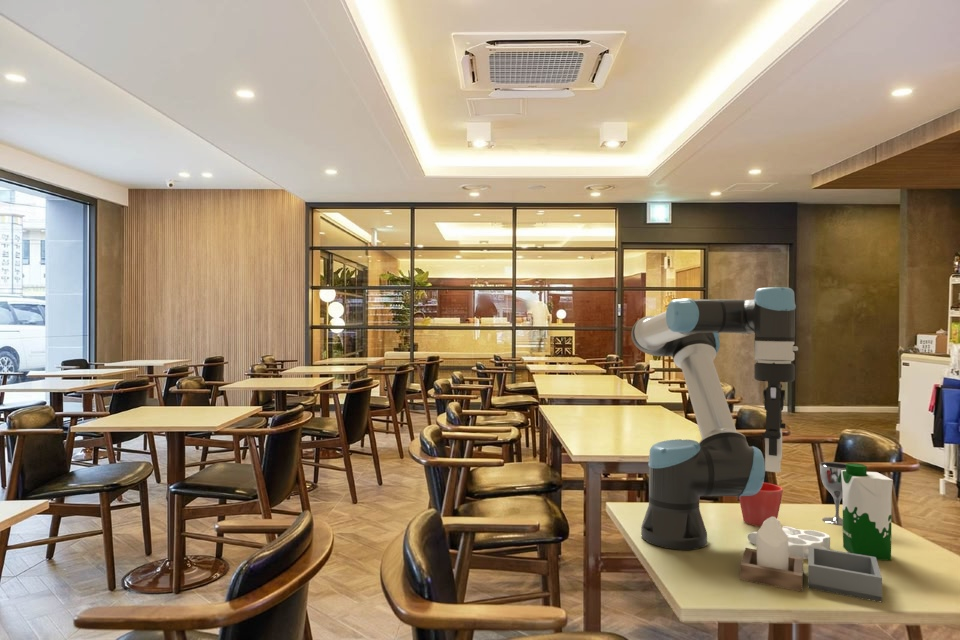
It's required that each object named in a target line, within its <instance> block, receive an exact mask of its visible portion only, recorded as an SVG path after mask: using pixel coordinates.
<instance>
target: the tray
mask: <svg viewBox="0 0 960 640" xmlns="http://www.w3.org/2000/svg"><path fill="white" fill-rule="evenodd" d="M807 560H808V562H807V563H808V564H807V566H808V567H807V568H808V569H807V571H808V572H807V575H808V577H807V581H808V583H807V588H808V589H811V590H816V591H821V592H826V593H831V594H837V595H842V596H847V597H850V598H852V597H853V598H855V599H856V598H857V599H862V598H863V599H862V600H867V599H870V600H869V601H872V600H875V601H874V602H877V601H882V602H883V578H882V573H881V570H880V567H879V563H878V560H877V559H876V557H872V556H866V555H860V554H854V553H850V552H849V551H840V550H834V549H830V550H829V549H823V548H817V547H811V546H809V552H808V559H807Z"/></svg>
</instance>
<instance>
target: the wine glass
mask: <svg viewBox="0 0 960 640" xmlns="http://www.w3.org/2000/svg"><path fill="white" fill-rule="evenodd" d="M846 464H847V463H844V462H837V461H823V462H822V461H821V462H820V463H819V470H820V479H821V482H822V485H823V486H824V488H825V489H826V490H827V491H828V492H829V493H830V494H831V496H832V498H833V501H834V506H835V515H834V516H825V517H822V518H821V520H822V521H823V522H824V523H826V524H831V525H835V526H842V527H843V517H840V504H841V500H842V499H843V489H842V477H841V470H846Z"/></svg>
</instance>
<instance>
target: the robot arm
mask: <svg viewBox="0 0 960 640" xmlns="http://www.w3.org/2000/svg"><path fill="white" fill-rule="evenodd" d="M796 308H797V305H796V301H795V291H794V290H793V289H792V288H790V287H784V286H783V287H782V286H781V287H780V286H779V287H778V286H777V287H771V286H770V287H760V288H757V289H756V290H755V292H754V298H753V299H720V298H719V299H710V298H709V299H708V298H707V299H706V298H705V299H704V298H703V299H702V298H701V299H700V298H688V297H686V298H678V299H676V298H675V299H672V300H671V301H670V302H669V303H668V305H667V308H666V310H665V311H663V312H661V313H659V314H656V315H646V316H644V317H642V318H641V317H640V319H638V320H637V321H636V322H635V323H634V324H633V326H632V329H631V340H632V343H633V344H634V346H635V347H636V348H637V349H638V350H639V351H641V352H643V353H645V354H647V355H650V356H652V357H653V356H655V357H672V360H673V364H674V365H675V366H676V367H677V368H679V369H681V371H682V375H683V378H684V381H685V385H686V389H687V391H688V395H689V399H690V402H691V406H692V409H693V413H694V415H695V416H694V417H695V420H696V424H697V427H698V431H699V433H700V436H701V440H700V441H696V440H693V439H679V438H677V439H669V440H668V439H667V440H664V441H660V442H657V443H654V444H653V445H652V446H651V447H650V449H649V455H648V456H649V457H648V464H647V465H648V507H647V509H646V512H645V515H644V517H643V521H642V524H641V526H640V527H641V530H640V531H641V532H640V534H641V535H642V536H641V538H642V539H643V540H644V541H645V540H646V541H645V542H647V543H649V544H652V545H654V546H657V547H660V548H665V549H671V550H678V551H679V550H681V551H682V550H683V551H685V550H686V551H687V550H688V551H690V550H698V549H702V548H704V547H706V546H707V545H708V532H707V529H706V526H705V522H704V520H703V516H702V514H701V509H700V497H737V498H739V497H741V496H752V495H755V494H757V493H758V492H759V491H760V489H761V487H762V485H763V482H764V481H765V476H766V472H771V473H781V470H782V468H781V466H782V464H781V463H782V462H781V461H782V460H783V429H786V423H784V422H783V419H782V416H783V415H782V413H783V412H782V411H783V410H784V406H785V404H784V403H785V402H784V401H785V400H786V390H785V389H782V388H783V385H782V383H792V382H794V381H795V380H796V379H795V377H796V370H795V369H796V365H795V364H794V363H792V362H793V361H795V357H796V355H795V352H798V351H799V347H798V346H796V345H795V340H796V339H795V337H796ZM720 333H721V334H722V333H723V334H725V333H726V334H747V335H748V334H749V335H751V334H754V341H753V353H754V354H753V356H754V357H753V359H754V361H757V362H755V363H754V367H753V368H754V370H753V371H754V375H753V376H754V377H753V378H754V379H755V380H756V381H759V382H767V387H766V388H764V389H763V394H762V395H763V399H764V401H763V404H764V410H765V431H764V432H761V438H763V439H764V440H765V441H764V443H765V445H764V446H765V447H764V450H765V452H764V454H763V452H762V451H761V449H759V448H758V447H756V446H754V445H752V446H750V445H749V443H748V441H747V437H746V436H745V435H744V434H743V433H741V432H740V431H737V429H736V425H735V422H734V419H733V416H732V414H731V410H730V407H729V404H728V402H727V399H726V394H725V393H724V389H723V387H722V384H721V381H720V377H719V374H718V372H717V369H716V366H715V363H714V360H715V359H716V358H717V354H718V352H719V349H720V347H721V346H720V345H721V339H720V337H721V336H720ZM794 345H795V346H794ZM764 455H765V456H764ZM764 483H765V482H764Z"/></svg>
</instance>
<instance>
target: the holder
mask: <svg viewBox="0 0 960 640" xmlns="http://www.w3.org/2000/svg"><path fill="white" fill-rule="evenodd" d="M788 558H789V560H788V562H789V563H788V571H786V570H781V569H775V568H770V567H764V566H759V565H757V548H755V549H754V548H751V547H745V549H744V552H743V555H742V558H741V561H740V571H739V573H740V574H739V577H740V578H739V579H740V580H741V581H746V582H749V583H750V582H751V583H756V584H760V585H764V586H771V587H776V588H781V589H786V590H791V591H796V592H802V593H803V585H804V584H803V582H804V581H803V580H804V559H803V558H802V557H796V556H791V555H789V557H788Z"/></svg>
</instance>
